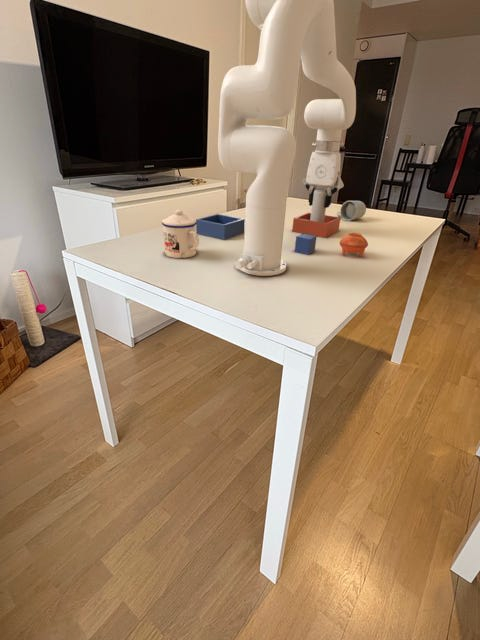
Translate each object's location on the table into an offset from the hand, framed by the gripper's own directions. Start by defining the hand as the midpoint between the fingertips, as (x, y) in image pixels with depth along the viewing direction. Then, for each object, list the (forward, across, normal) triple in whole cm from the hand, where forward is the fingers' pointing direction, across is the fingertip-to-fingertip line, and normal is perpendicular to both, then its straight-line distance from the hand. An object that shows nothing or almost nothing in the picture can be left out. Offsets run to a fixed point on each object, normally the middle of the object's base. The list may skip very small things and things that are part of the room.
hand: (319, 205), depth 119 cm
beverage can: (+7, 0, 0) cm, 7 cm away
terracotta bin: (+9, 0, 0) cm, 9 cm away
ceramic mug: (+9, +3, +28) cm, 30 cm away
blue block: (+9, +7, -25) cm, 27 cm away
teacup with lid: (+9, -18, -50) cm, 54 cm away
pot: (+9, +19, -19) cm, 28 cm away
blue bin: (+9, -24, -25) cm, 36 cm away
